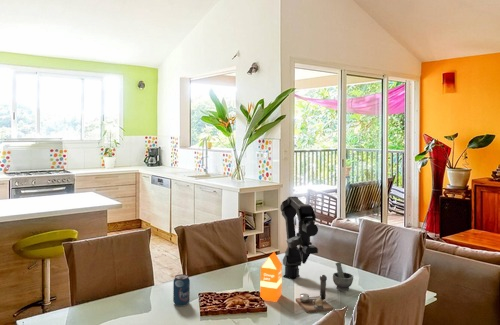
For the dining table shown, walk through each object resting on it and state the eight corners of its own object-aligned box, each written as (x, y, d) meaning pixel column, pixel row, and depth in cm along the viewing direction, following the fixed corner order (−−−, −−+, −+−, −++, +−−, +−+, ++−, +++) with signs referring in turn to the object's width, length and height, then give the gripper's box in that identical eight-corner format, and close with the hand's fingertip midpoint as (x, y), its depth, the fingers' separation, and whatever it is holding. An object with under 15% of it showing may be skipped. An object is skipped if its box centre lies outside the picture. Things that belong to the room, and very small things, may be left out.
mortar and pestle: (356, 292, 192) (357, 267, 191) (338, 293, 189) (339, 268, 189) (344, 283, 203) (345, 260, 202) (327, 285, 200) (328, 261, 199)
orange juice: (281, 294, 187) (282, 252, 186) (276, 302, 179) (277, 257, 178) (265, 292, 190) (266, 250, 188) (259, 299, 181) (260, 255, 180)
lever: (299, 299, 179) (299, 273, 178) (325, 299, 179) (325, 273, 178) (300, 302, 175) (301, 276, 174) (326, 303, 175) (327, 276, 174)
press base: (295, 301, 180) (295, 290, 180) (320, 298, 183) (320, 288, 183) (307, 313, 167) (307, 302, 167) (333, 310, 171) (334, 299, 170)
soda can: (182, 308, 170) (182, 280, 170) (169, 304, 174) (170, 277, 173) (192, 302, 176) (193, 275, 175) (180, 299, 180) (181, 272, 179)
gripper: (281, 228, 200) (281, 259, 201) (296, 236, 182) (295, 270, 183) (302, 227, 203) (301, 257, 204) (318, 235, 185) (318, 268, 186)
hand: (303, 263), depth 194 cm, fingers closed
